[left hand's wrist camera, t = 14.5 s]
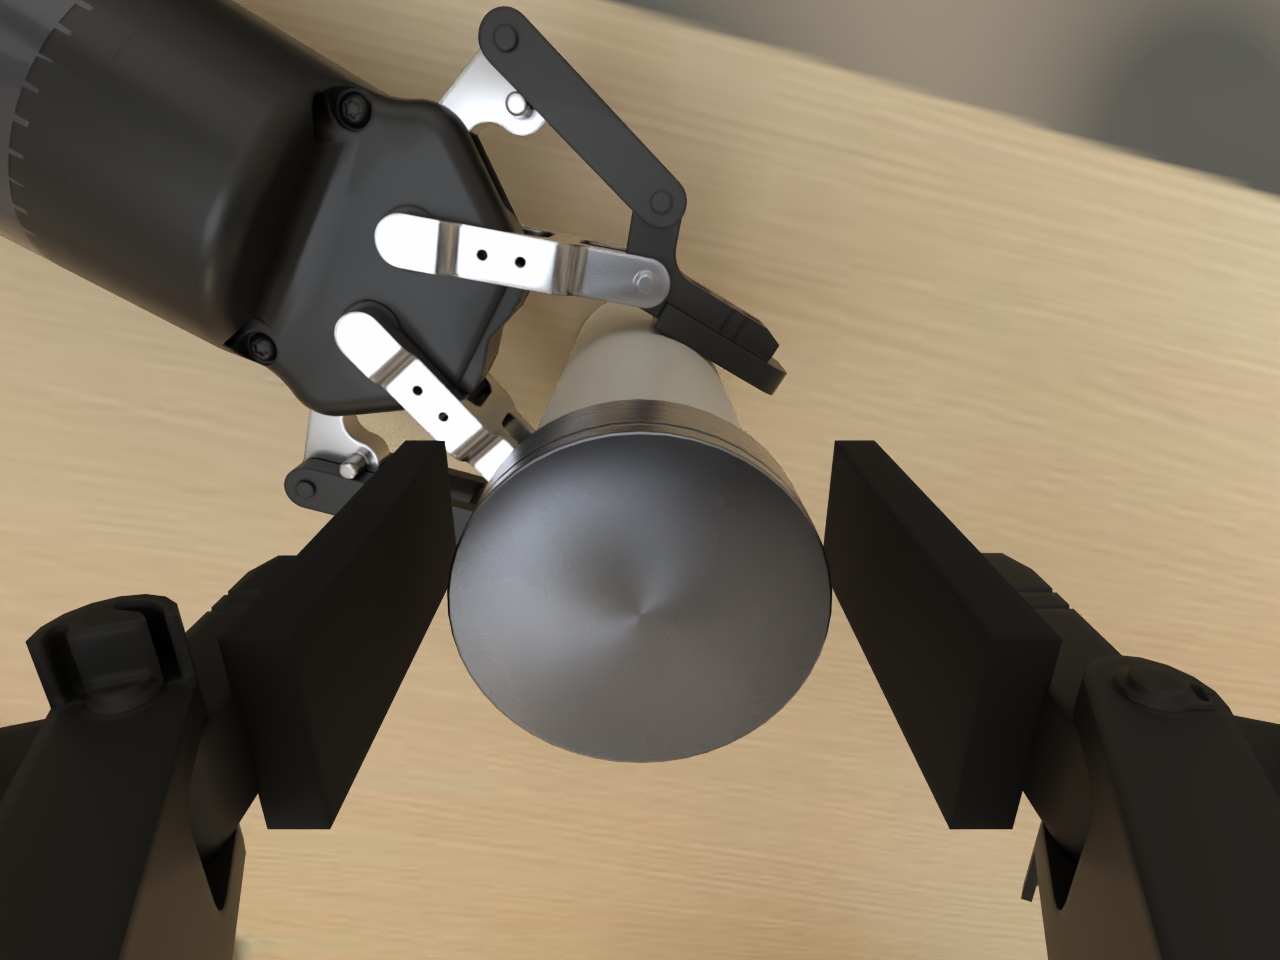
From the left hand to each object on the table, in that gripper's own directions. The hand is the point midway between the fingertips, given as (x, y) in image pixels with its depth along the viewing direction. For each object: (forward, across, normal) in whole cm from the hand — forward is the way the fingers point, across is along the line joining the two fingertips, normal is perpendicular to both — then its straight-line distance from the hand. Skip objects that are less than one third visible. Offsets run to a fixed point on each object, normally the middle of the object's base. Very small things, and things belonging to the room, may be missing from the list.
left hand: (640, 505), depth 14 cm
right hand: (+6, -2, +1) cm, 7 cm away
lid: (-4, 0, 0) cm, 4 cm away
